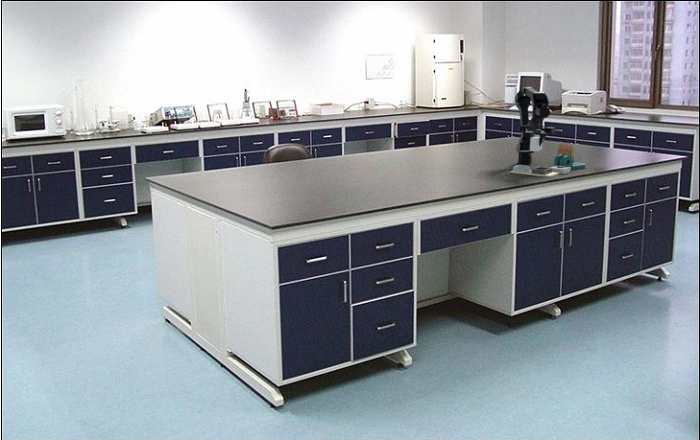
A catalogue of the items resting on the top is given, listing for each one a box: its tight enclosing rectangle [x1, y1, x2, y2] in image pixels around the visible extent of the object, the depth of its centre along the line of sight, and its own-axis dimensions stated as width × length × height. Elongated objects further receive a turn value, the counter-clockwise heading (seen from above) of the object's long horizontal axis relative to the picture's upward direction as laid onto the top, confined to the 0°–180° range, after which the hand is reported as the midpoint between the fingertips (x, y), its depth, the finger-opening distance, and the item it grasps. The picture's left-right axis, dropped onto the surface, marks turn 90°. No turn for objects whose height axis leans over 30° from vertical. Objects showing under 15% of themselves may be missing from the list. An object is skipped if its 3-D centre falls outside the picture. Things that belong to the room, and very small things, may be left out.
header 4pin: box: [531, 166, 552, 175], centre depth 368 cm, size 7×9×2 cm
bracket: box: [553, 154, 587, 171], centre depth 383 cm, size 18×7×8 cm, turn 118°
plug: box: [529, 136, 543, 152], centre depth 381 cm, size 4×7×7 cm, turn 140°
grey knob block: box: [550, 165, 572, 175], centre depth 374 cm, size 8×8×3 cm
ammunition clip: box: [556, 141, 575, 163], centre depth 398 cm, size 11×2×12 cm, turn 33°
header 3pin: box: [512, 164, 531, 172], centre depth 376 cm, size 6×7×2 cm
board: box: [510, 169, 559, 178], centre depth 371 cm, size 22×10×1 cm, turn 50°
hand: (536, 145), depth 381 cm, fingers closed on plug, 4 cm apart
